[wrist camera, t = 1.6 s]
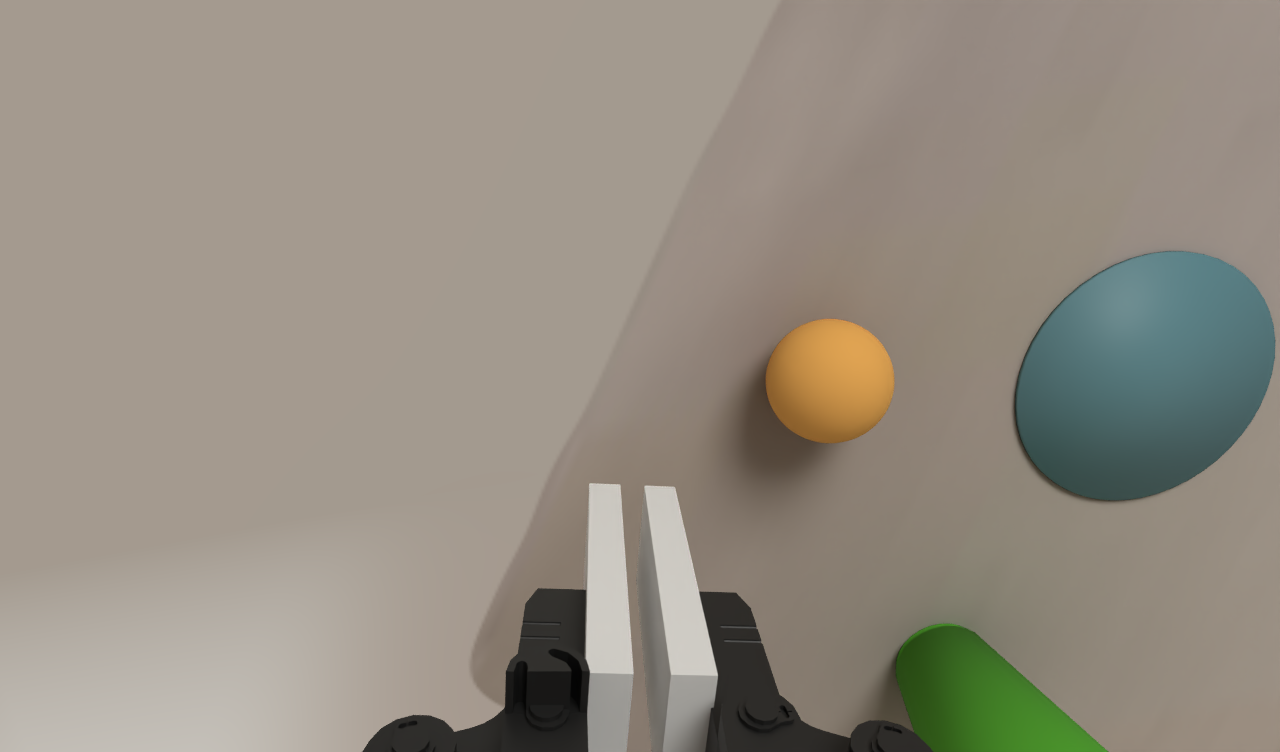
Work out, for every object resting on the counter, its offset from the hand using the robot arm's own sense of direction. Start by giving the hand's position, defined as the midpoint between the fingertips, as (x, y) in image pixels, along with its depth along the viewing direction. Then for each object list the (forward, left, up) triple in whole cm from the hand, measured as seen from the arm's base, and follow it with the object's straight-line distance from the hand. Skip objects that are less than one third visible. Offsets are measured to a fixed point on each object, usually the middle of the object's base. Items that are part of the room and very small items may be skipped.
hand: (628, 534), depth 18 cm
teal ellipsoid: (-26, 0, -16) cm, 31 cm away
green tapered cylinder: (-20, +17, -17) cm, 31 cm away
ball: (-10, 0, -14) cm, 17 cm away
